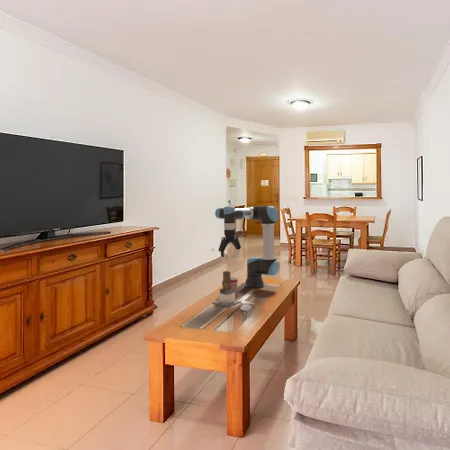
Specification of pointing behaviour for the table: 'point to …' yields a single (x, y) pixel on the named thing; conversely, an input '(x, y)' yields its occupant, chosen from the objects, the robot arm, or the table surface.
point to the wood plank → (226, 281)
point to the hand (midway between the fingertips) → (230, 259)
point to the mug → (233, 284)
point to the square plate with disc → (227, 298)
